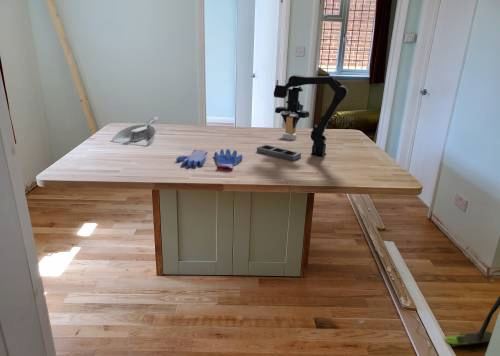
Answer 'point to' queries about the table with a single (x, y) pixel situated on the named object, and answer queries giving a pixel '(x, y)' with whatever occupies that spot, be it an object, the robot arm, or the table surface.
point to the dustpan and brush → (137, 133)
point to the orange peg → (290, 125)
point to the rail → (279, 152)
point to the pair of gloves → (223, 160)
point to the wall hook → (288, 136)
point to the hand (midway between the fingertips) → (290, 127)
